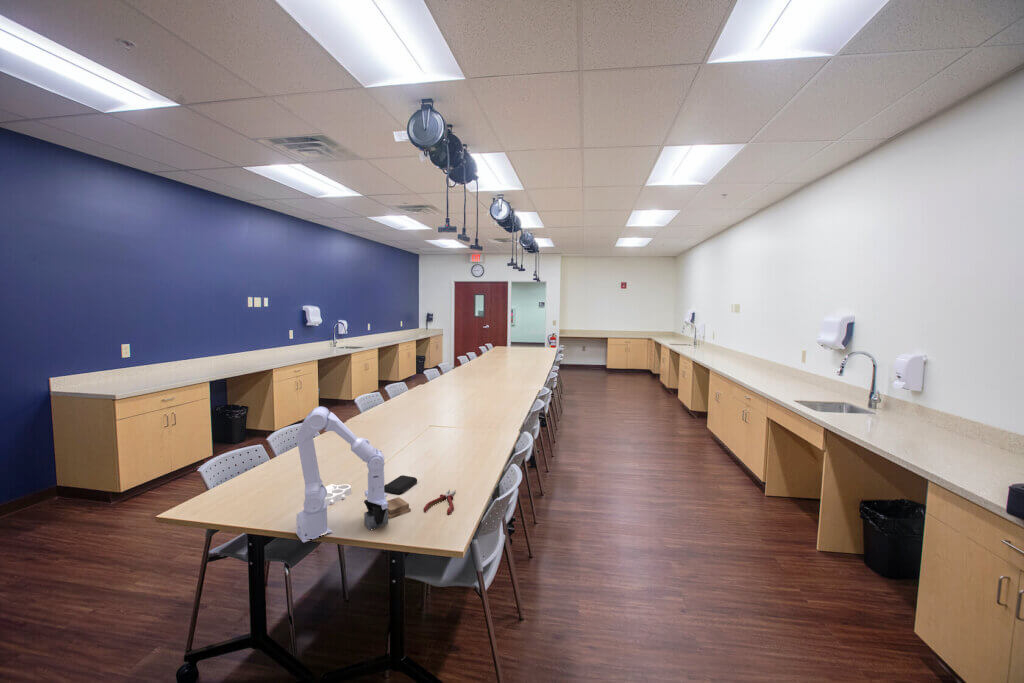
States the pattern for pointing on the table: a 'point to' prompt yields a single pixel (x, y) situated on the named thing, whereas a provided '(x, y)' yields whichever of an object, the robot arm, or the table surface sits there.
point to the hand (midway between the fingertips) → (376, 521)
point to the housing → (371, 522)
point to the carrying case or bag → (400, 484)
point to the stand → (397, 507)
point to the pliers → (440, 499)
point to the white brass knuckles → (336, 493)
